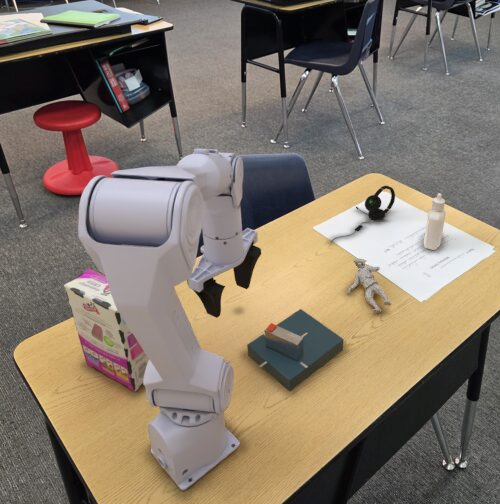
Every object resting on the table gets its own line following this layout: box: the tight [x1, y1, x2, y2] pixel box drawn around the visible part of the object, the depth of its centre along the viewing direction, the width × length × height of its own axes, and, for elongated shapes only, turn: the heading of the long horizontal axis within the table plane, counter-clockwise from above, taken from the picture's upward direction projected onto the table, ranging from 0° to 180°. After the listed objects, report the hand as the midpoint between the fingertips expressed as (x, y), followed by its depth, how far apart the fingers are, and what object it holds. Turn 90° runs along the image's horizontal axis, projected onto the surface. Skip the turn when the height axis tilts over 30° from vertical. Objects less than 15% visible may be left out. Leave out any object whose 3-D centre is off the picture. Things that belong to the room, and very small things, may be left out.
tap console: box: [246, 308, 344, 392], centre depth 87 cm, size 14×10×3 cm
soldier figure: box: [346, 258, 392, 314], centre depth 100 cm, size 8×5×12 cm
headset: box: [330, 185, 396, 243], centre depth 121 cm, size 7×7×20 cm
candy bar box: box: [63, 268, 149, 393], centre depth 82 cm, size 11×5×16 cm, turn 59°
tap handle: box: [264, 322, 303, 361], centre depth 85 cm, size 6×2×4 cm, turn 59°
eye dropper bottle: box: [423, 192, 446, 251], centre depth 112 cm, size 4×6×12 cm
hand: (228, 299), depth 86 cm, fingers open, 7 cm apart
